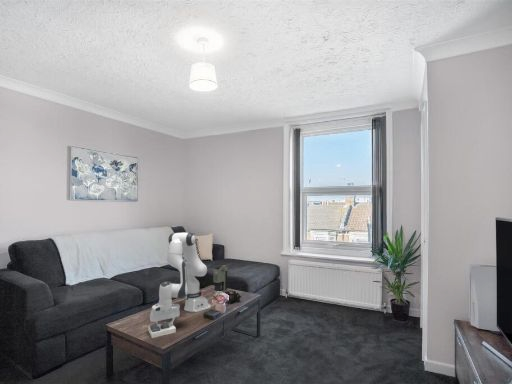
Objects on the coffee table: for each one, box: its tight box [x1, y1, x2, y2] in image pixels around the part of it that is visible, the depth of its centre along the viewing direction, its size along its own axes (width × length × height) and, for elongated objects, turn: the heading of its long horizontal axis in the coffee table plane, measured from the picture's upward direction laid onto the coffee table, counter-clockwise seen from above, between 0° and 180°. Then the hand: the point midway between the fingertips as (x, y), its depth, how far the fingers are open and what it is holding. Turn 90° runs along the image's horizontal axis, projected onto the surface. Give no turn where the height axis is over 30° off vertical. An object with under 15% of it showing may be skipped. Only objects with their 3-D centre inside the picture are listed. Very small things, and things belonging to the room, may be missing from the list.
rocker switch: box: [160, 320, 169, 329], centre depth 205 cm, size 4×4×6 cm
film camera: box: [225, 289, 242, 305], centre depth 264 cm, size 18×12×10 cm
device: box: [213, 263, 229, 295], centre depth 283 cm, size 14×8×30 cm, turn 144°
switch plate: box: [147, 321, 177, 339], centre depth 204 cm, size 16×12×4 cm
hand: (164, 325), depth 205 cm, fingers open, 8 cm apart
